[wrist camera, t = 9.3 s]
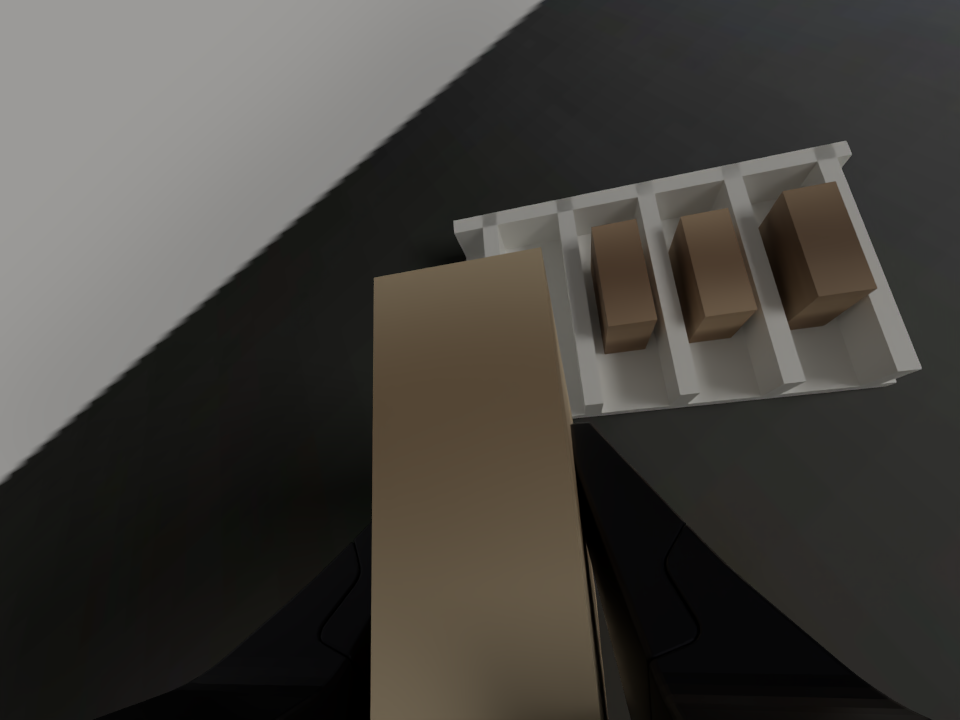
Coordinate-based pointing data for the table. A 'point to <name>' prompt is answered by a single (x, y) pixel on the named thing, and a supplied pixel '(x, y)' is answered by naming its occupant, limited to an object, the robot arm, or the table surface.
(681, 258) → the walnut offcut
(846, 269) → the walnut offcut
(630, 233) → the walnut offcut
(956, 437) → the table surface
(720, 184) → the offcut rack
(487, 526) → the oak board
